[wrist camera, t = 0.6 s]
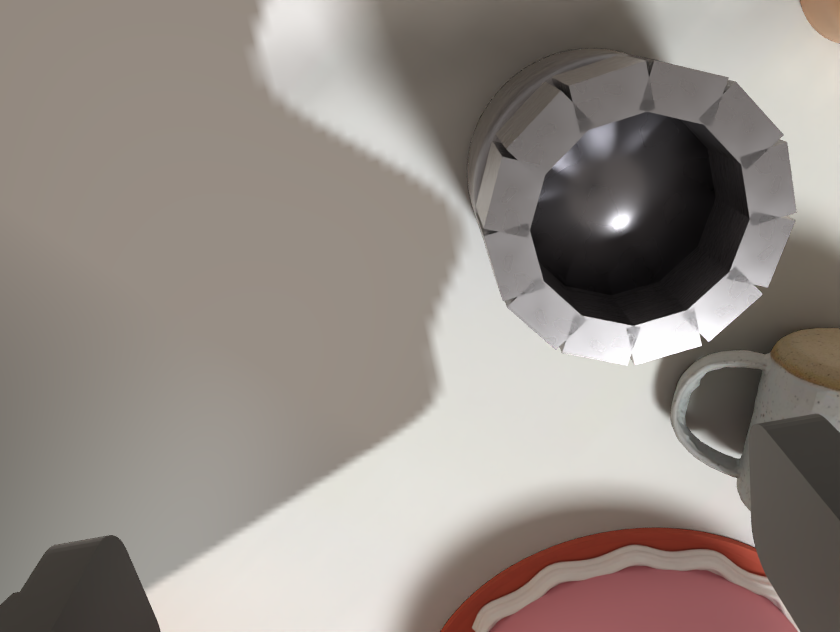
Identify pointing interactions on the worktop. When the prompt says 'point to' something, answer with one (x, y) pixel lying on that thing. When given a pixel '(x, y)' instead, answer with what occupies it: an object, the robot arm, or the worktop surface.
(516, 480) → the worktop surface
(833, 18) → the cap
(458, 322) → the worktop surface
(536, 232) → the canister
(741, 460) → the ceramic mug
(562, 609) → the cake
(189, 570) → the worktop surface
